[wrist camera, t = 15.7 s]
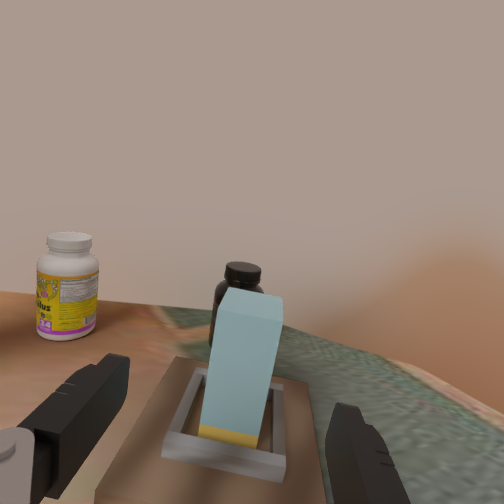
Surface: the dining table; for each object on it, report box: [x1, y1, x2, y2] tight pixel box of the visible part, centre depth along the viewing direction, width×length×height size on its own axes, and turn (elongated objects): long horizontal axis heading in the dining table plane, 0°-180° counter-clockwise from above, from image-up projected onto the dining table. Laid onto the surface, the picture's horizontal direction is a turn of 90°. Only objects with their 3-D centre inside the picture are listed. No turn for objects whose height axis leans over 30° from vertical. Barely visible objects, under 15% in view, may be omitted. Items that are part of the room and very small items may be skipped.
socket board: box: [94, 356, 326, 504], centre depth 27 cm, size 16×16×3 cm
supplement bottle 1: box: [36, 232, 99, 341], centre depth 37 cm, size 7×7×13 cm
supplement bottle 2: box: [209, 262, 264, 348], centre depth 40 cm, size 7×7×12 cm
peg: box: [198, 287, 283, 449], centre depth 25 cm, size 5×5×12 cm
